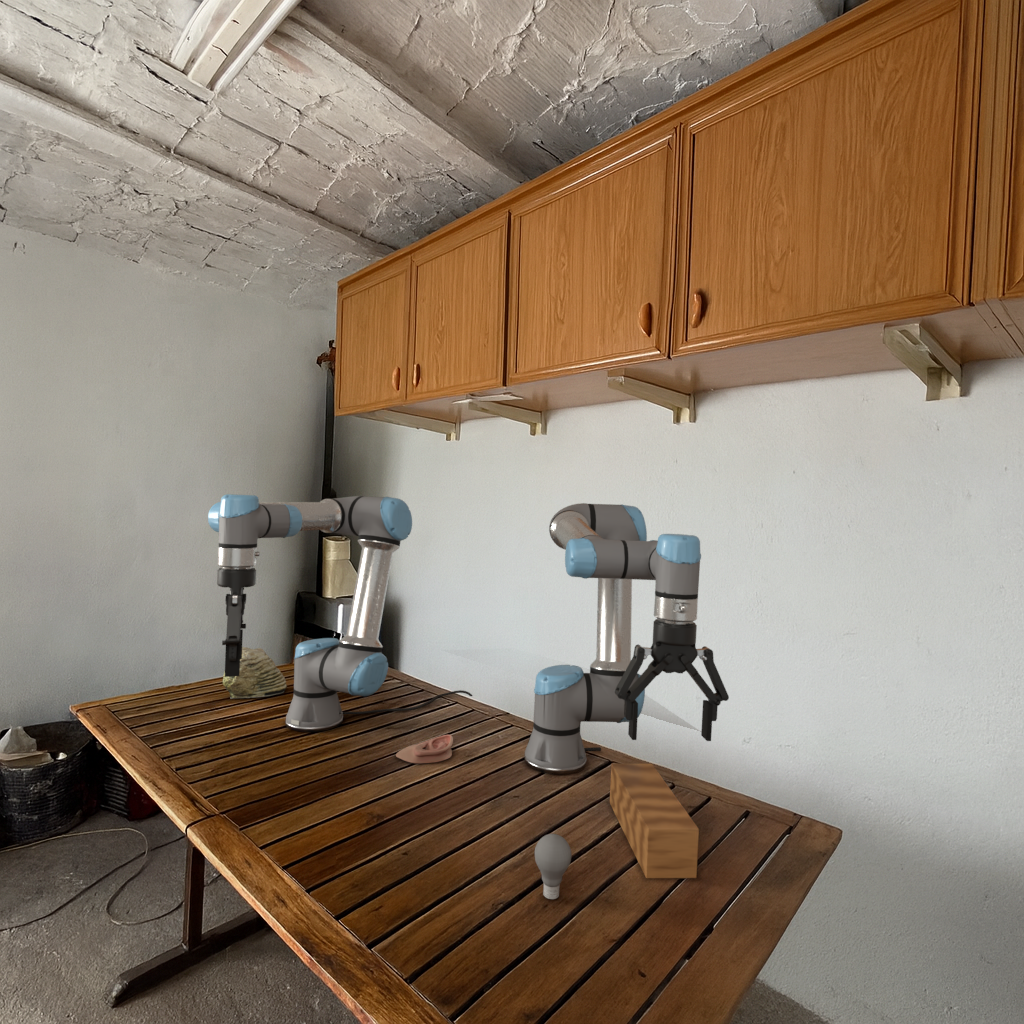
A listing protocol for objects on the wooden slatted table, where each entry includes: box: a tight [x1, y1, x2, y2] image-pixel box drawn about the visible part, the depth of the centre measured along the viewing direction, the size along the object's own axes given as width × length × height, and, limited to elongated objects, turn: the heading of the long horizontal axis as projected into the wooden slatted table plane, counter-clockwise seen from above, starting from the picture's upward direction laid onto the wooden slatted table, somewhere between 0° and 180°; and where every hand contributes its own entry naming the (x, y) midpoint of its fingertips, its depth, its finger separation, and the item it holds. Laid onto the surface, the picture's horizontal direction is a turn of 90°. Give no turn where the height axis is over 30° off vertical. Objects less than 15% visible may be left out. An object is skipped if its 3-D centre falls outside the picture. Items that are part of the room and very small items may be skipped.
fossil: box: [222, 646, 288, 699], centre depth 198 cm, size 9×18×15 cm, turn 132°
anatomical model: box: [395, 734, 454, 764], centre depth 157 cm, size 13×4×12 cm
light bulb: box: [534, 833, 573, 900], centre depth 103 cm, size 6×6×10 cm
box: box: [609, 762, 700, 879], centre depth 123 cm, size 27×9×9 cm, turn 5°
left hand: (233, 667), depth 134 cm, fingers open, 13 cm apart
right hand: (669, 737), depth 114 cm, fingers open, 13 cm apart
